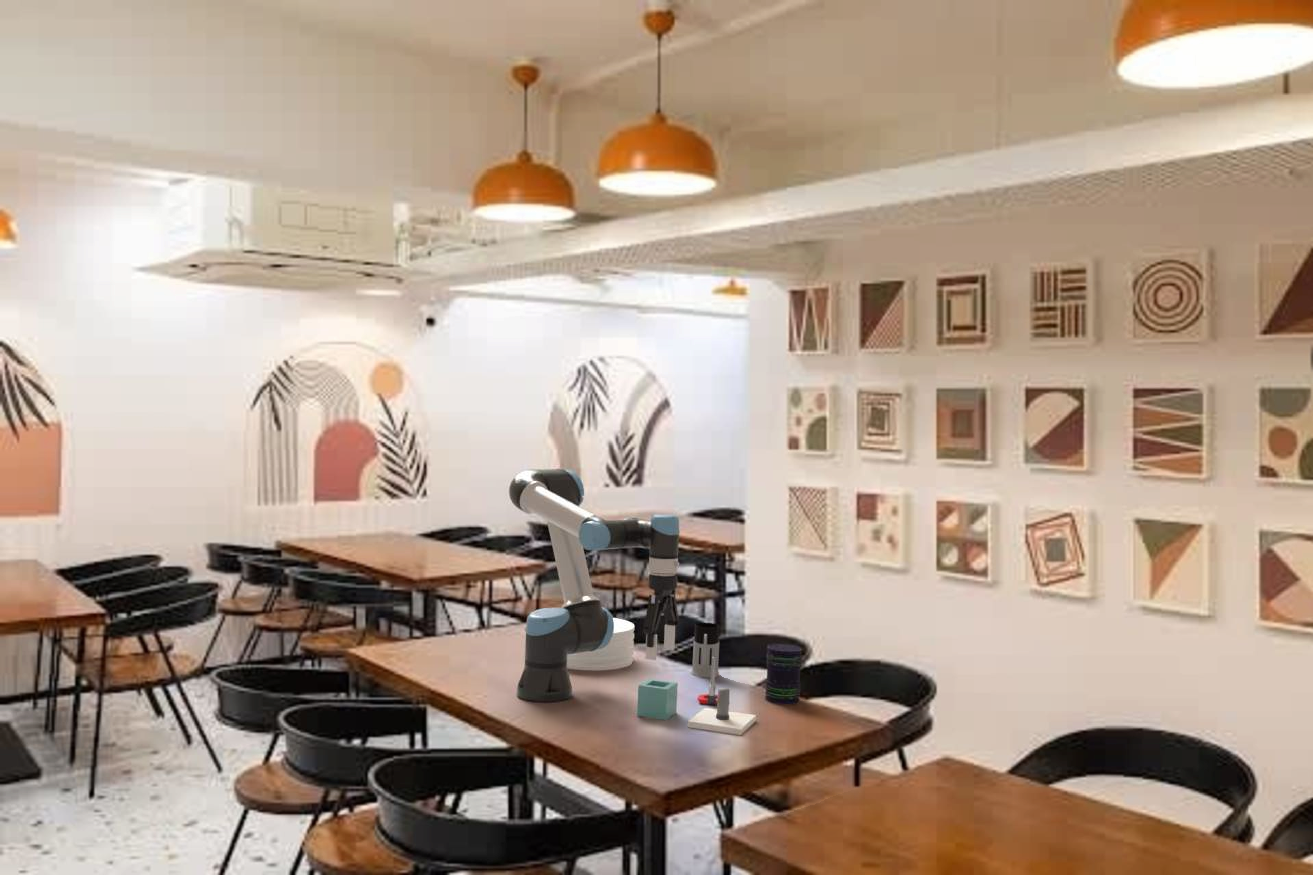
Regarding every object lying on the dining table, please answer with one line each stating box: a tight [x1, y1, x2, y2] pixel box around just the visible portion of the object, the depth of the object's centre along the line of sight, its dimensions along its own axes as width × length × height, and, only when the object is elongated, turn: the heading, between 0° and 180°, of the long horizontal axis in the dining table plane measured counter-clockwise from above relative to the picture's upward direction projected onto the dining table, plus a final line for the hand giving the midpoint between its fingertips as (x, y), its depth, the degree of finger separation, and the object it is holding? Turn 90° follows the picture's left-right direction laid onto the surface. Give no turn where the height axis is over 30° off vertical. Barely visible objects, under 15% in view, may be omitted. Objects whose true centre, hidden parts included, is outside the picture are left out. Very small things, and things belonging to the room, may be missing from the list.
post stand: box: [687, 687, 757, 736], centre depth 278 cm, size 14×14×9 cm
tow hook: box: [697, 658, 718, 706], centre depth 300 cm, size 8×13×9 cm
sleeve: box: [636, 678, 679, 721], centre depth 284 cm, size 8×8×8 cm
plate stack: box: [567, 617, 635, 671], centre depth 342 cm, size 28×28×12 cm
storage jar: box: [764, 643, 803, 706], centre depth 304 cm, size 10×10×15 cm
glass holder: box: [690, 622, 720, 678], centre depth 328 cm, size 9×14×15 cm, turn 174°
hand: (660, 654), depth 283 cm, fingers open, 13 cm apart
